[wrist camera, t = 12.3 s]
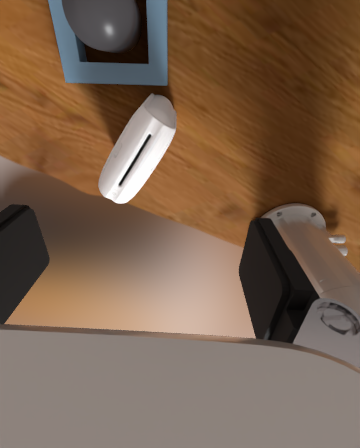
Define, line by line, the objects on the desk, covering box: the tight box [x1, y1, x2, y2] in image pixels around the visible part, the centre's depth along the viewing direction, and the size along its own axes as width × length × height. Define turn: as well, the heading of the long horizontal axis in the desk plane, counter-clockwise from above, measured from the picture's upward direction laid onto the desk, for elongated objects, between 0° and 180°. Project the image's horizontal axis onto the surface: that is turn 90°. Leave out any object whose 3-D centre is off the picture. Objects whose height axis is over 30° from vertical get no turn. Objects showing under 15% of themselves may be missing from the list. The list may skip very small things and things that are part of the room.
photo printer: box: [98, 93, 176, 203], centre depth 26 cm, size 10×4×12 cm, turn 144°
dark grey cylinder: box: [62, 0, 142, 54], centre depth 21 cm, size 6×6×7 cm
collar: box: [48, 0, 168, 86], centre depth 23 cm, size 11×11×2 cm
